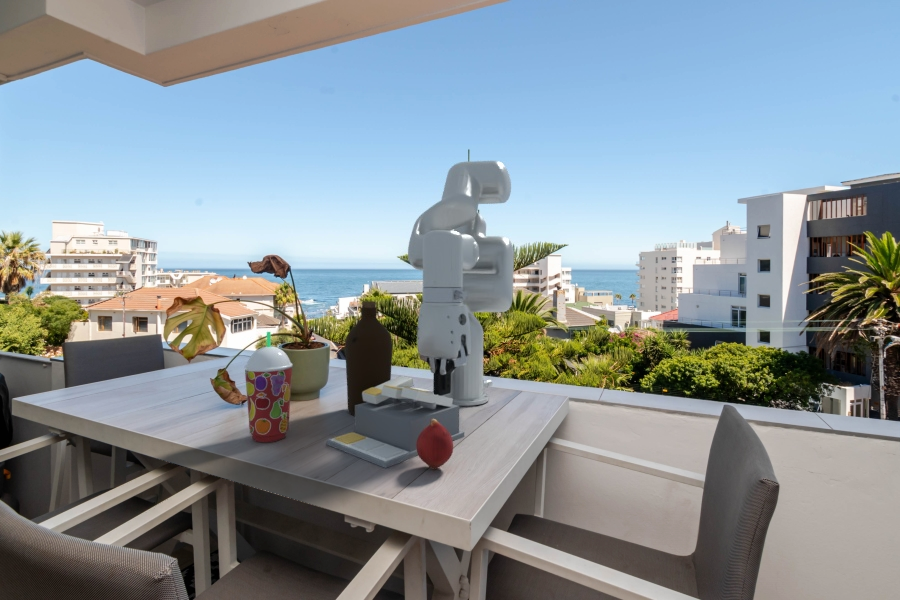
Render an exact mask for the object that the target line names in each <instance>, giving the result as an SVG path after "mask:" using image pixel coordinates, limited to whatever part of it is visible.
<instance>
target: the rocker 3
mask: <svg viewBox="0 0 900 600" xmlns="http://www.w3.org/2000/svg"><path fill="white" fill-rule="evenodd" d="M413 388H414V387H410V388H409V387H404V388H403V389H402V393H401V397H406V398H410V399H414V400H417V405H418V406H422V407H426V408H430V409H435V408H436V404H438V405H443V406H448V407H452V402H453V398H448V397H444V396H439V395H435V394H434V393H433V394H430V393H428V392H427V391H422V390H418V389H413Z"/></svg>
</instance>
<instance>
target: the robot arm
mask: <svg viewBox="0 0 900 600" xmlns="http://www.w3.org/2000/svg"><path fill="white" fill-rule="evenodd" d="M446 174H447V175H446V180H445V183H444V186H443V191H442V194H441V195H442V196H441V200H439V201H438V202H436V203H435V204H433V205H431V206H430V207H429V208H428V209H426V210H425V211H423V212H422V213H421V214H420V215H419V216H418V217H417V219H416V221H415V222H414V225H413V227H412V231H411V234H410V237H409V241H408V248H407V257H408V258H407V259H408V261H409V263H410V266H412V268H414V269H415V270H418V271H422V303H421V304H420V307H419V313H418V319H417V320H418V321H417V330H416V331H417V334H416V337H417V338H416V343H417V352H418V353H419V359H420V360H421V361H423V362H425V363H427V364H428V366H429V368H430V372H431V373H432V374H433V382H432V383H433V386H432V387H433V390H432V391H433V394H435V395H439V396H444V397H448V398H453V402H452V404H454V405H458V406H459V407H460V406H461V407H463V406H464V407H465V406H466V407H469V406H477V405H479V406H480V405H483V404H486V403H487V402H489V400H490V395H489V394H488V393H487V392H485V389H486V388H491V387H492V386H493V381H492V380H491V379H484V329H483V326H482V325H481V322H480V321H479V320H478V318H476V316H475V314H474V313H504V312H507V311H508V310H510V309H511V307H512V303H513V296H514V265H515V260H514V259H515V256H514V254H515V253H514V247H513V244H512V242H511V240H510V239H509V238H507V237H505V236H500V235H498V236H496V235H495V236H489V235H488V236H486V235H487V223H486V221H485V219H484V217H483V216H482V215H481V214H480V213H479V212H478V209H479V205H488V204H489V205H492V204H493V205H495V204H504V203H506V202H507V201H508V200H509V198H510V195H511V194H512V193H511V191H512V181H511V180H512V179H511V176H510V174H509V170H508V169H507V167H506V166H505V164H504V163H502V162H501V161H498V160H480V161H479V160H477V161H462V162H458V163H456V164H455V163H454V165H452V166H451V167H450V168H449V170H448V172H447V173H446Z"/></svg>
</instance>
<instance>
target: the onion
mask: <svg viewBox="0 0 900 600" xmlns="http://www.w3.org/2000/svg"><path fill="white" fill-rule="evenodd" d="M416 447H417V453H418V455H417V456H418V457H419V459H421V461H423V463H425V464H426V466H428V467H429V468H430V469H431V470H437V469H439V468H440V467H442V466H444V465H445V464H446V463H447V462H448V461H449V460H450V458H451V456H452V455H453V452H454V441H453V440H452V437H451V435H450V433H449V431H448V430H447V429H446V428H445V427H444V426H442V425H441V424H440V423H439V422H437V420H436V419H431V420H430V425H429V426H427V427H426V428H425V429H424V430H423V431H422V432H421V433H420V435H419V436H418V439H417V443H416Z"/></svg>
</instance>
